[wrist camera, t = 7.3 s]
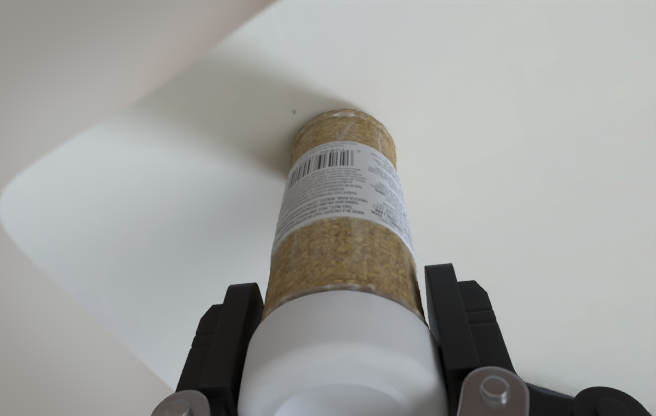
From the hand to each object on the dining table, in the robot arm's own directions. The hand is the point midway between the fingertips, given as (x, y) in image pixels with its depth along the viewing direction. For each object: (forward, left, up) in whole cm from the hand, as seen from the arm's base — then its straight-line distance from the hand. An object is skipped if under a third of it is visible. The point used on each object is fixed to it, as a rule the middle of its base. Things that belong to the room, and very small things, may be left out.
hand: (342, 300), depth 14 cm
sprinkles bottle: (0, 0, -10) cm, 10 cm away
